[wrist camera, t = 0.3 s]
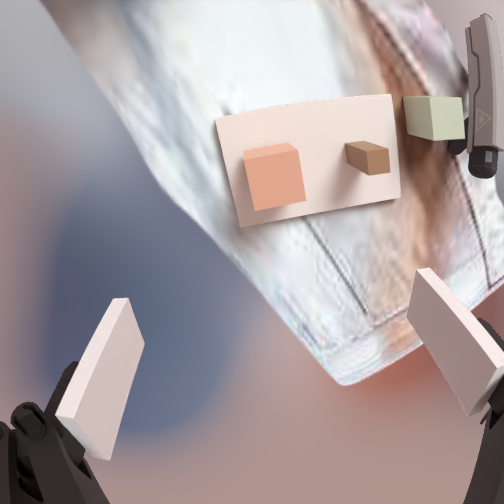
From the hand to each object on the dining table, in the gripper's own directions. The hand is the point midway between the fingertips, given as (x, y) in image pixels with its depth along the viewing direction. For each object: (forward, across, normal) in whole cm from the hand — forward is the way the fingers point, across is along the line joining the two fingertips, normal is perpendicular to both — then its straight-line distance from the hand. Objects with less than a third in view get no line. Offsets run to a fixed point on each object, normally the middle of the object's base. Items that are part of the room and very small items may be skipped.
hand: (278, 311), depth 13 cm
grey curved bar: (+28, +32, +13) cm, 44 cm away
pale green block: (+27, +23, +8) cm, 37 cm away
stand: (+27, +8, +2) cm, 28 cm away
